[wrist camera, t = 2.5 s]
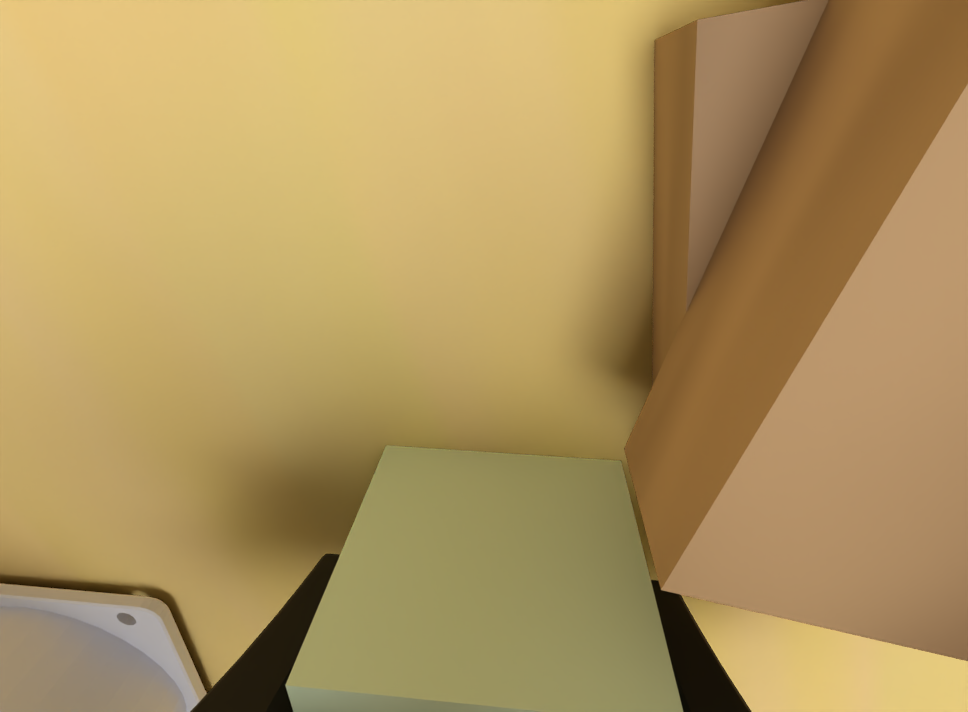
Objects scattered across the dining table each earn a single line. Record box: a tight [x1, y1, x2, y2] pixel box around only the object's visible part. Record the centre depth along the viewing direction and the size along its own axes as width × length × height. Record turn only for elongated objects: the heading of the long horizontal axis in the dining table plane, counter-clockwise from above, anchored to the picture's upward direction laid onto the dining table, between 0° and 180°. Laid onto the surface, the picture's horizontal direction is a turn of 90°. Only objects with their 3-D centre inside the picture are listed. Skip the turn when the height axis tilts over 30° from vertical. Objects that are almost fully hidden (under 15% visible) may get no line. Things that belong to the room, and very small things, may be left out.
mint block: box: [285, 445, 683, 712], centre depth 9 cm, size 5×5×5 cm
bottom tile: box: [652, 0, 828, 386], centre depth 7 cm, size 7×7×2 cm
